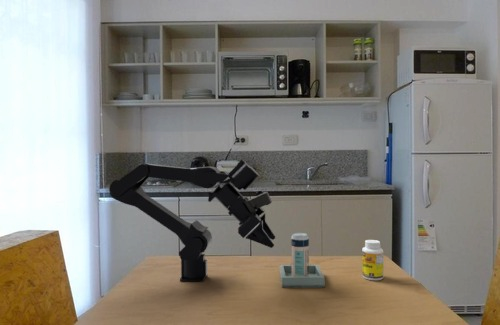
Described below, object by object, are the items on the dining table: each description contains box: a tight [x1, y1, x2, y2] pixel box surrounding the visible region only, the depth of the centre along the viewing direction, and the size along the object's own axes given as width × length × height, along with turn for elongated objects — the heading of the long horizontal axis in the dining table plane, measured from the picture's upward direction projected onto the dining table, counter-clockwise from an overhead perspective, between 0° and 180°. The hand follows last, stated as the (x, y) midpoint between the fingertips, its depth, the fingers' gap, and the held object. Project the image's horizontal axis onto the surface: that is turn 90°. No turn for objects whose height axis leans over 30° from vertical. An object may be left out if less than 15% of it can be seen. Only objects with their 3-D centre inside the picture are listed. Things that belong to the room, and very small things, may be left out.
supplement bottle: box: [361, 239, 384, 281], centre depth 102 cm, size 6×6×10 cm
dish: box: [279, 264, 326, 289], centre depth 101 cm, size 11×11×3 cm
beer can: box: [290, 232, 310, 276], centre depth 100 cm, size 5×5×12 cm
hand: (273, 242), depth 101 cm, fingers open, 9 cm apart
